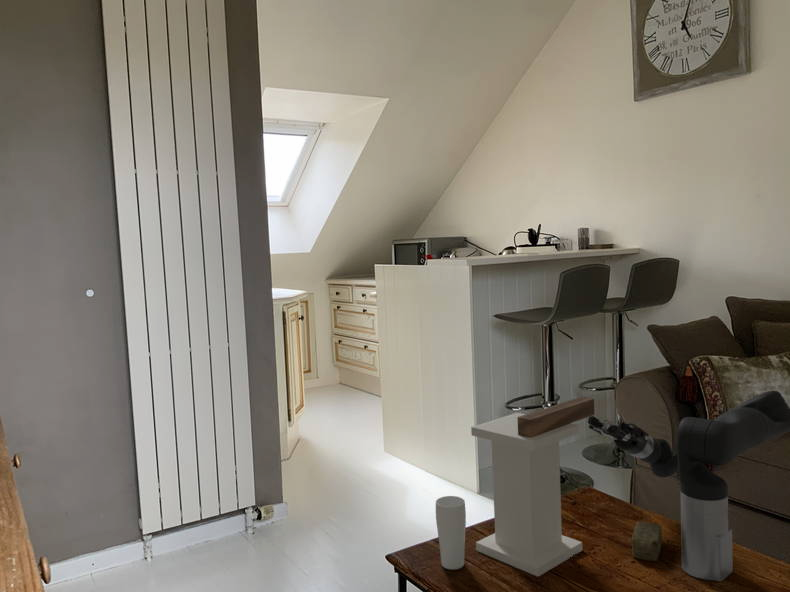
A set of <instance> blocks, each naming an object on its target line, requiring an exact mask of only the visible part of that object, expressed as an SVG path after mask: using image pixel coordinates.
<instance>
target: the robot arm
mask: <svg viewBox="0 0 790 592" xmlns="http://www.w3.org/2000/svg"><path fill="white" fill-rule="evenodd" d="M587 423H588V429H590V430H592V431H593V432H595V433H597V434H599V435H601V436H602V435H605V436H608V437H610V438H611V439H613V443H614V444H615V446H616V447H617V448H619V450H622V451H623V452H624V453H626V454H629V455H630V456H632V457H634V458H636V459H639V460H640V461H642V462H644V463H648V464H649V467H650V470H651V472H652V474H653V475H654V476H656V477H657V478H668V477H672V475H675V474H676V473H678V480H679V484H680V487H679V488H680V534H681V535H680V539H681V540H680V542H681V543H680V544H681V547H680V549H681V568H682V570H683V571H684V572H685V573H687V574H688V575H689V576H692V577H694V578H698V579H701V580H706V581H717V582H719V583H722V582H723V581H724V580H725V579H726V578H728V576H730V575H731V574H732V573H733V570H734V569H733V568H734V567H733V563H734V562H733V529H732V528H729V488H728V487H729V486H728V483H727V481H726V480H725V479H724V478H722V477H721V476H719V474H716V473H714V472H713V471H711V470H710V469H709V468H708V467H706V465H705V464H707V465H712V466H725V465H727V464H730V463H731V462H733V461H734V460H735V459H736V458H738V456H739V455H741V454H742V453H744V452H745V451H747V450H749V449H752V448H754V447H756V446H758V445H761V444H763V443H764V442H766V441H768V440H771V439H775V438H778V437H782V436H784V435H786V434H788V433H790V406H789V405H788V403H787V402H786V400H785V398H784V397H783V395H782V394H781V393H780V392H779V391H778V390H768V391H766V392H763V393H760V394H757V395H754V396H753V397H751V398H748V399H747V400H745V401H743V402H742V403H739V404H738V405H736V406H734V407H732V408H730V409H728V410H727V411H726V412H724V413H721V414H720V415H718V416H717V417H715V418H713V419H706V418H701V417H694V416H686V417H683V418H682V419H681V420H680V421H679V424H678V426H677V430H676V437H675V441H674V444H675V446H674V447H675V451H674V452H673V450H672V447H671V444H670V443H669V442H668V441H667V440H666V439H665V438H658V437H657V438H656V437H653V436H652V435H650V434H649V433H648V432H647V431H645V430H644V429H642V428H641V427H639V426H638V425H636V424H634V423H633V422H625V421H621V420H620V421H619V423H613V422H611V421H608V420H605V421H602V420H600V419H598V417H595V415H592V416H589V417H588V419H587ZM608 425H609V426H608ZM607 427H608V428H607Z"/></svg>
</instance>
